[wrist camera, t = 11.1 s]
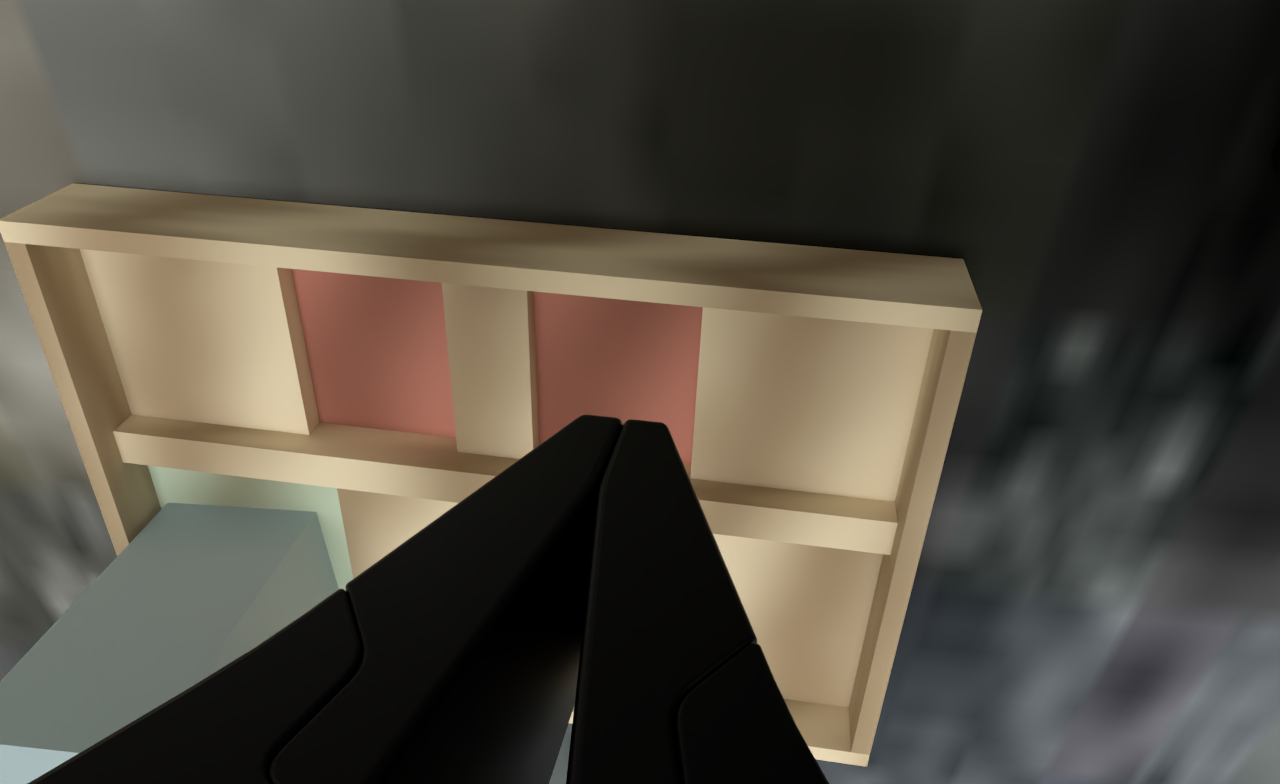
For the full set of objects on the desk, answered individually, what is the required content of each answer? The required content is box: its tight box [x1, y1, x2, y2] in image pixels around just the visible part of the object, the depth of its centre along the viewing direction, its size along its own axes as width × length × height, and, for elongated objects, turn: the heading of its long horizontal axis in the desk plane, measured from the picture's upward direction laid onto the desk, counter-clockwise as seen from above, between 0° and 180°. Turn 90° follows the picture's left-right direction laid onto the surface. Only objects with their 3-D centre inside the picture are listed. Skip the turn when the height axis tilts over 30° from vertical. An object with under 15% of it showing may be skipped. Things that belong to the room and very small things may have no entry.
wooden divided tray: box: [0, 183, 982, 767], centre depth 24 cm, size 21×14×2 cm, turn 88°
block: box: [0, 503, 339, 784], centre depth 23 cm, size 4×4×8 cm
